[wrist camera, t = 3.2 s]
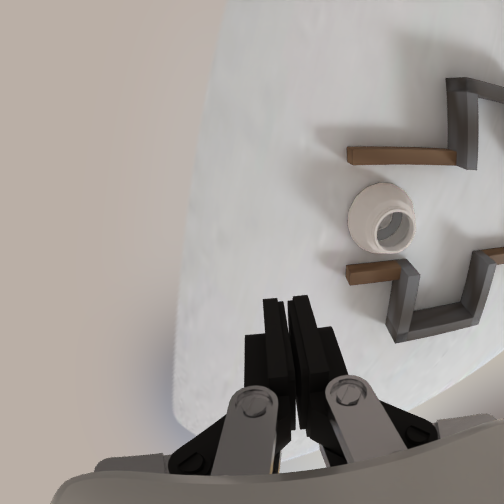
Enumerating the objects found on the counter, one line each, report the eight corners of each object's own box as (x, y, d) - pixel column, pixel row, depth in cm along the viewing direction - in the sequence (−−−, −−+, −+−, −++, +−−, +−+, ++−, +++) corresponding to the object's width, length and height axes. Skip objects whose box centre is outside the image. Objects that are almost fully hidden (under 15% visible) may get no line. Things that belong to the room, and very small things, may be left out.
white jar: (331, 215, 21) (372, 260, 22) (343, 231, 18) (386, 281, 20) (384, 167, 19) (420, 217, 21) (403, 176, 17) (439, 232, 18)
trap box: (341, 67, 16) (353, 61, 14) (573, 117, 15) (589, 121, 13) (341, 331, 25) (348, 351, 23) (546, 287, 24) (557, 298, 21)
